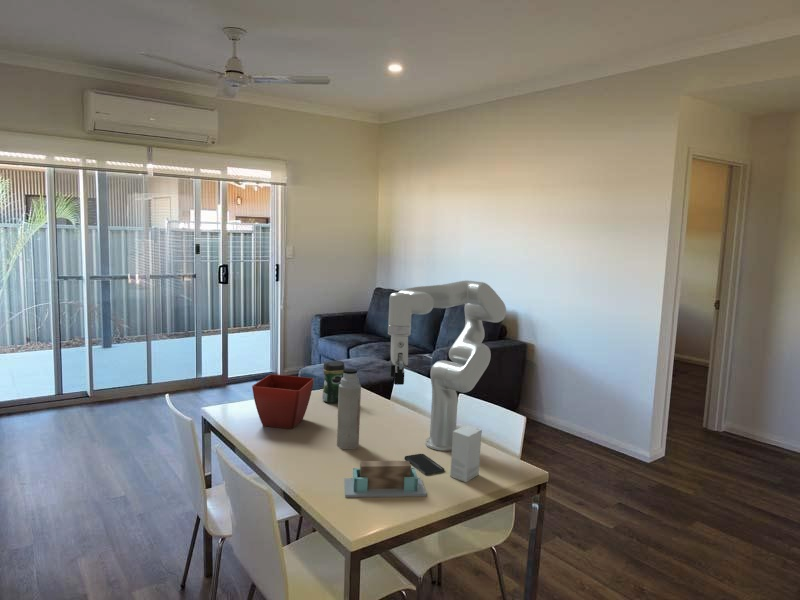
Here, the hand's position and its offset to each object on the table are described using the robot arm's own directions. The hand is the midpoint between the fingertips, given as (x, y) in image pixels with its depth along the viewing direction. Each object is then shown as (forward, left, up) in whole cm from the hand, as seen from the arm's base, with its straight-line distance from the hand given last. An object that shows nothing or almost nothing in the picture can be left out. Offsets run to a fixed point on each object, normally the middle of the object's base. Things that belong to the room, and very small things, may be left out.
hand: (397, 380), depth 186 cm
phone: (-10, +3, -29) cm, 31 cm away
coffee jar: (+20, -69, -28) cm, 77 cm away
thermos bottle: (+15, -15, -28) cm, 36 cm away
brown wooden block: (+5, +20, -28) cm, 34 cm away
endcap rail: (+5, +20, -28) cm, 35 cm away
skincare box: (-22, +12, -28) cm, 38 cm away
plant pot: (+40, -39, -29) cm, 63 cm away
